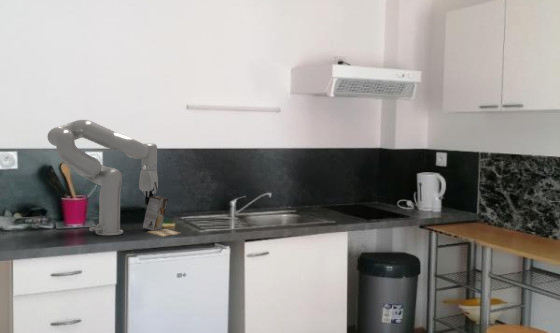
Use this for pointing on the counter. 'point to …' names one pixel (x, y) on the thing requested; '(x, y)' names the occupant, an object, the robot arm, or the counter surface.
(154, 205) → the coffee box
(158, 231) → the open book
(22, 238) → the counter surface
